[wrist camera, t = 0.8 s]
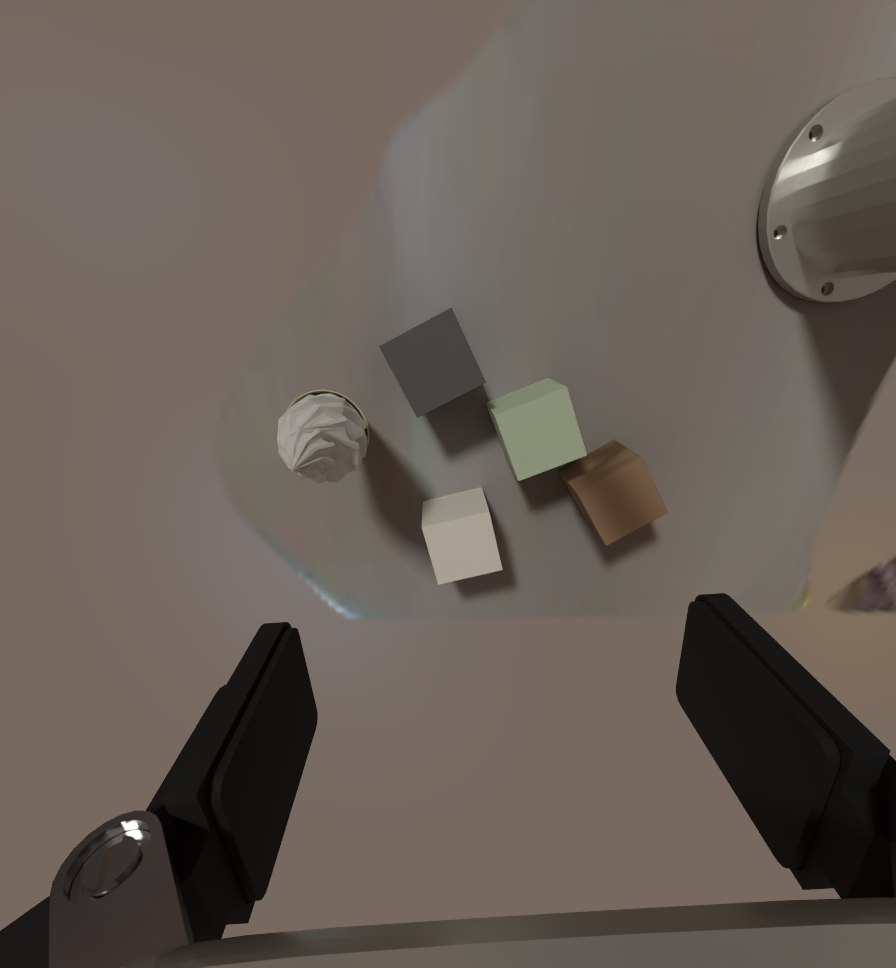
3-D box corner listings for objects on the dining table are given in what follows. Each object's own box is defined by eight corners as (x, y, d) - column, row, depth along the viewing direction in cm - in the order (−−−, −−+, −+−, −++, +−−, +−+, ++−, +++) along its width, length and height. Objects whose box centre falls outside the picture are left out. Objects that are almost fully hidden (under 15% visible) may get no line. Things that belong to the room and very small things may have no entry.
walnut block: (613, 439, 35) (641, 457, 30) (637, 488, 36) (668, 512, 32) (558, 470, 36) (577, 493, 31) (584, 517, 37) (606, 546, 32)
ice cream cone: (376, 446, 34) (338, 533, 20) (312, 432, 34) (226, 510, 19) (389, 383, 32) (357, 429, 18) (321, 366, 32) (235, 400, 18)
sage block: (547, 377, 33) (566, 386, 28) (565, 437, 35) (586, 455, 30) (485, 402, 33) (494, 415, 29) (506, 460, 35) (518, 481, 30)
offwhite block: (481, 486, 36) (489, 511, 31) (493, 539, 37) (502, 569, 33) (422, 500, 36) (421, 527, 31) (437, 552, 38) (438, 584, 33)
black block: (448, 310, 31) (451, 307, 26) (478, 374, 33) (485, 382, 28) (387, 343, 32) (379, 346, 27) (419, 404, 33) (417, 417, 29)
